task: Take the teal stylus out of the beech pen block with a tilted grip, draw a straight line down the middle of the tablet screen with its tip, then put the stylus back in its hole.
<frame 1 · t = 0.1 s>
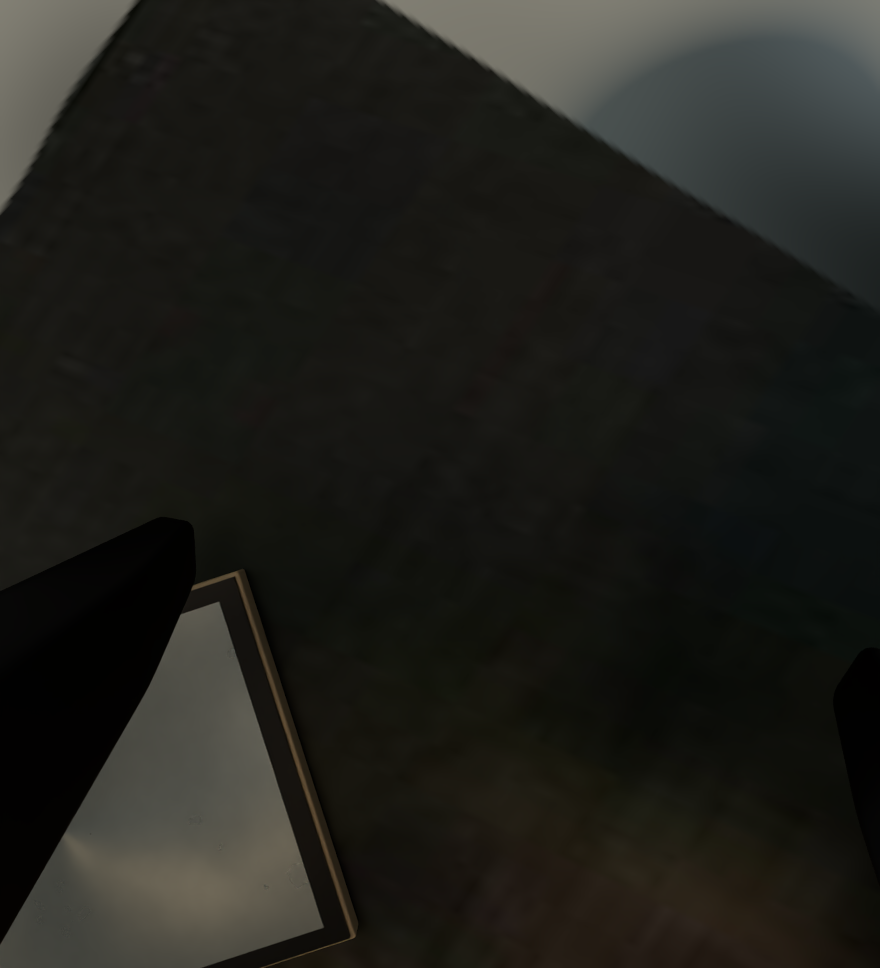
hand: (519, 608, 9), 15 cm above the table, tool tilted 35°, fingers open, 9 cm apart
tablet: (78, 818, 24), on the table
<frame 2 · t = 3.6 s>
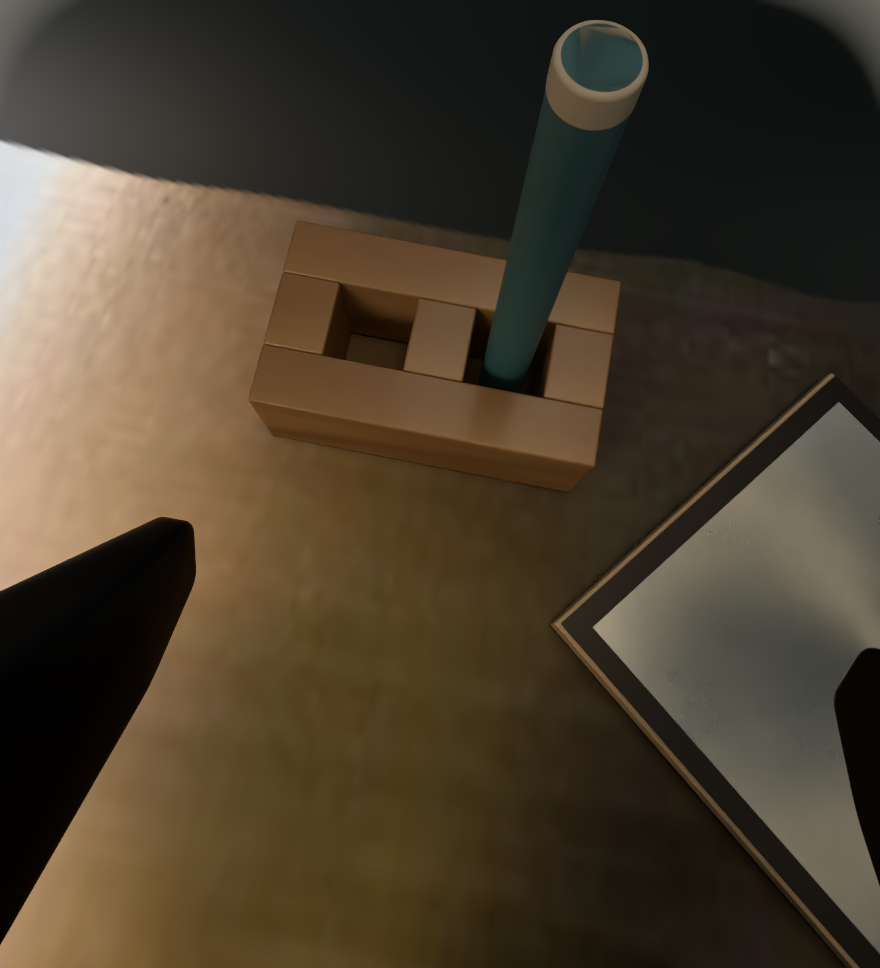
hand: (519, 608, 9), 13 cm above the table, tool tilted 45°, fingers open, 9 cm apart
stylus: (496, 393, 24), resting in pen block
pen block: (437, 382, 24), on the table
tablet: (872, 690, 22), on the table
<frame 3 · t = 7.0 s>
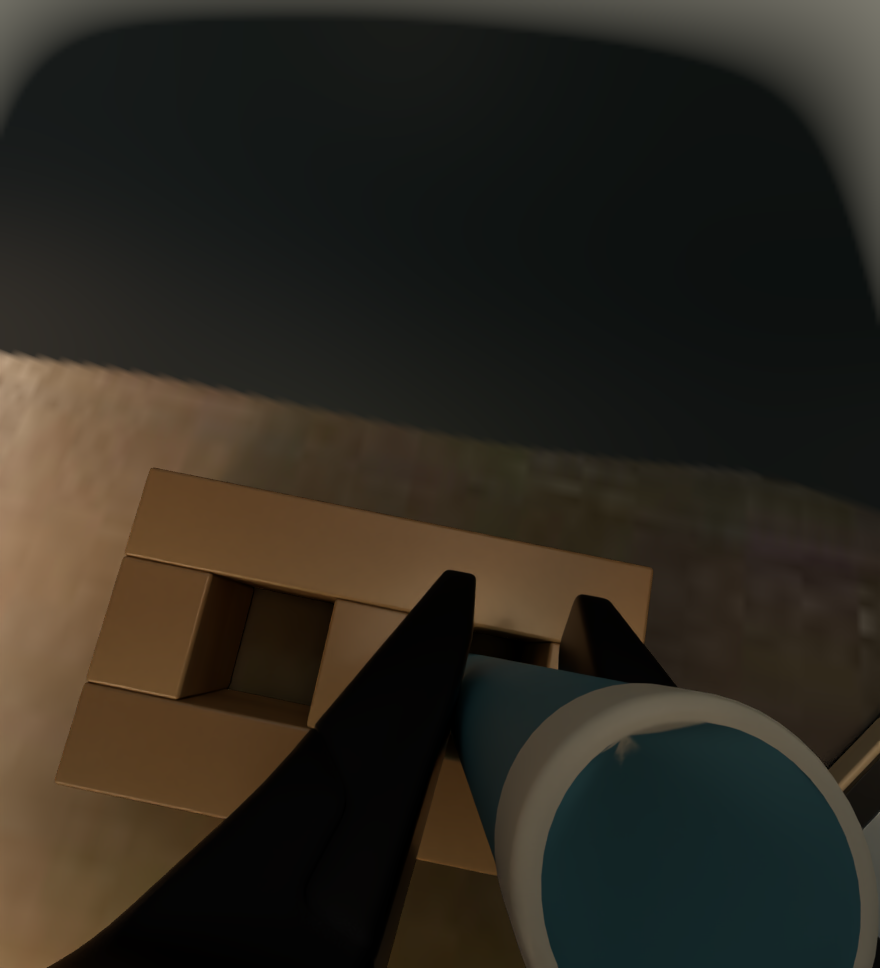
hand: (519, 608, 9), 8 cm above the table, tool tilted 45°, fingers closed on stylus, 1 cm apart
stylus: (464, 682, 16), resting in pen block, touching gripper
pen block: (378, 665, 16), on the table
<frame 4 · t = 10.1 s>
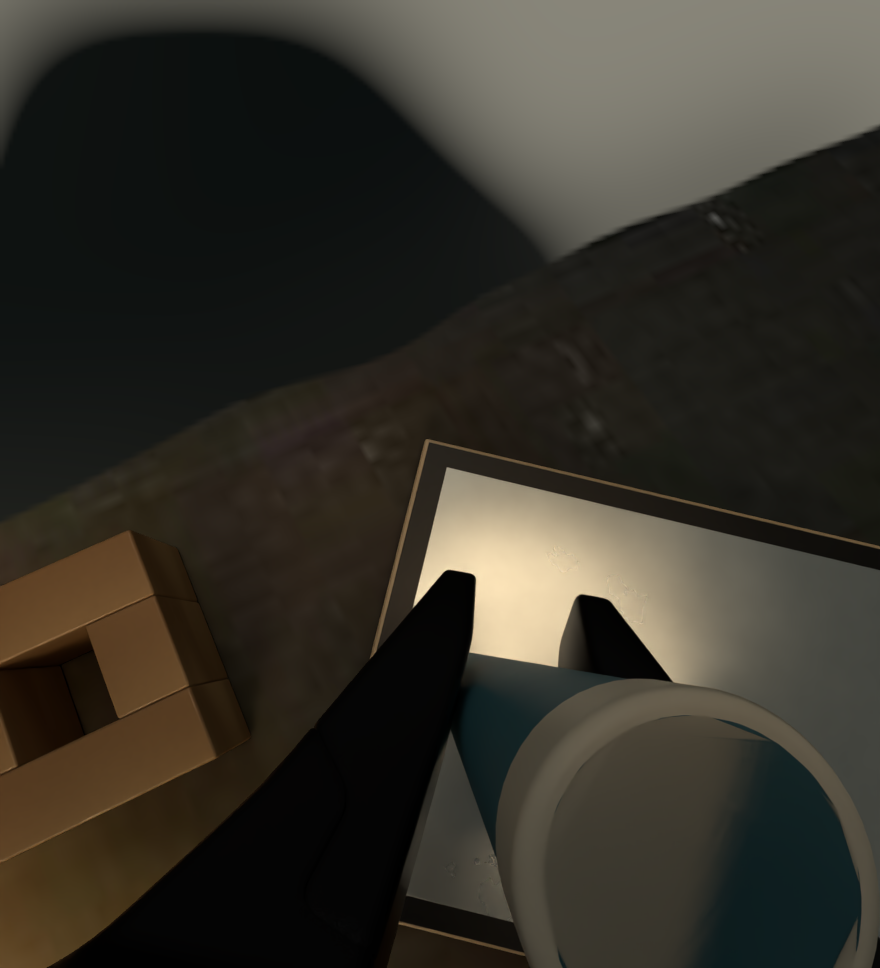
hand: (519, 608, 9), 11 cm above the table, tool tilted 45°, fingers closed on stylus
stylus: (464, 682, 16), point 4 cm above the table, touching gripper
pen block: (43, 718, 19), on the table
tablet: (648, 719, 20), on the table
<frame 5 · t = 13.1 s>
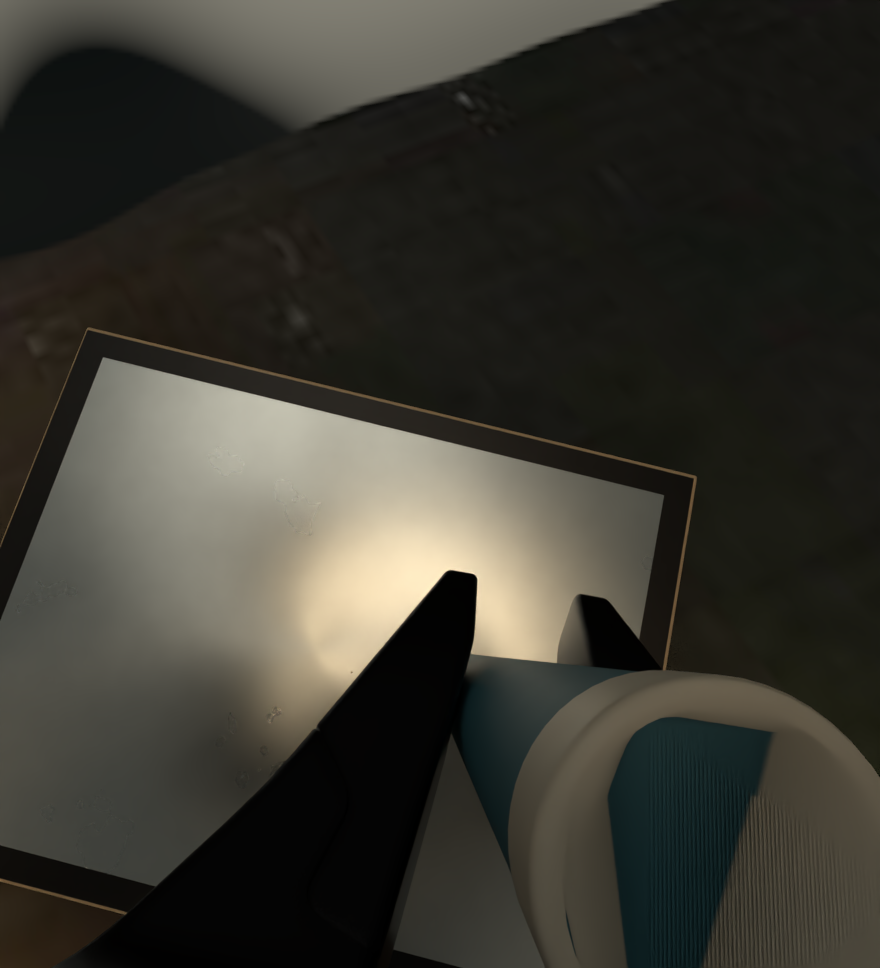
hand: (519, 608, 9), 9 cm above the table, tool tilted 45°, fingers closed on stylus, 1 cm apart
stylus: (463, 684, 16), point 1 cm above the table, touching gripper
tablet: (323, 648, 17), on the table
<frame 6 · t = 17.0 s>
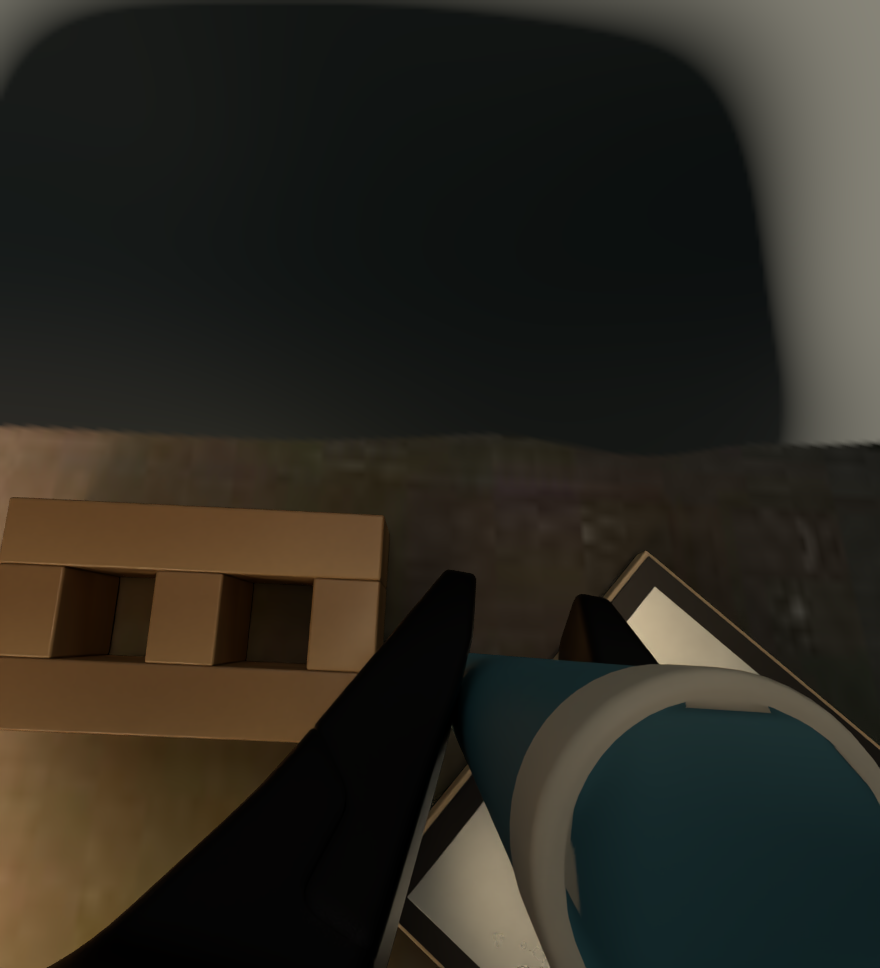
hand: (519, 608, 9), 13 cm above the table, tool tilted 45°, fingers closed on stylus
stylus: (465, 683, 16), point 5 cm above the table, touching gripper
pen block: (221, 620, 21), on the table
tablet: (724, 903, 20), on the table
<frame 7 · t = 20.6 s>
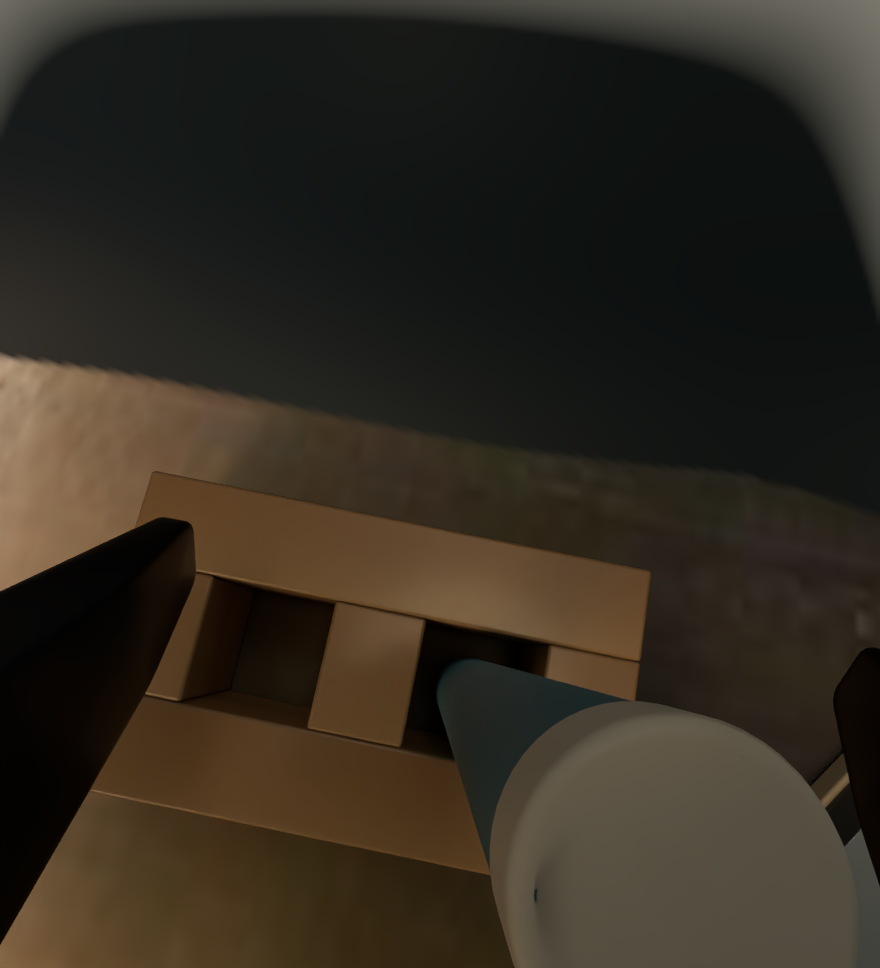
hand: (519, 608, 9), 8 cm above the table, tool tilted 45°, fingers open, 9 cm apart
stylus: (463, 686, 16), resting in pen block
pen block: (378, 666, 16), on the table
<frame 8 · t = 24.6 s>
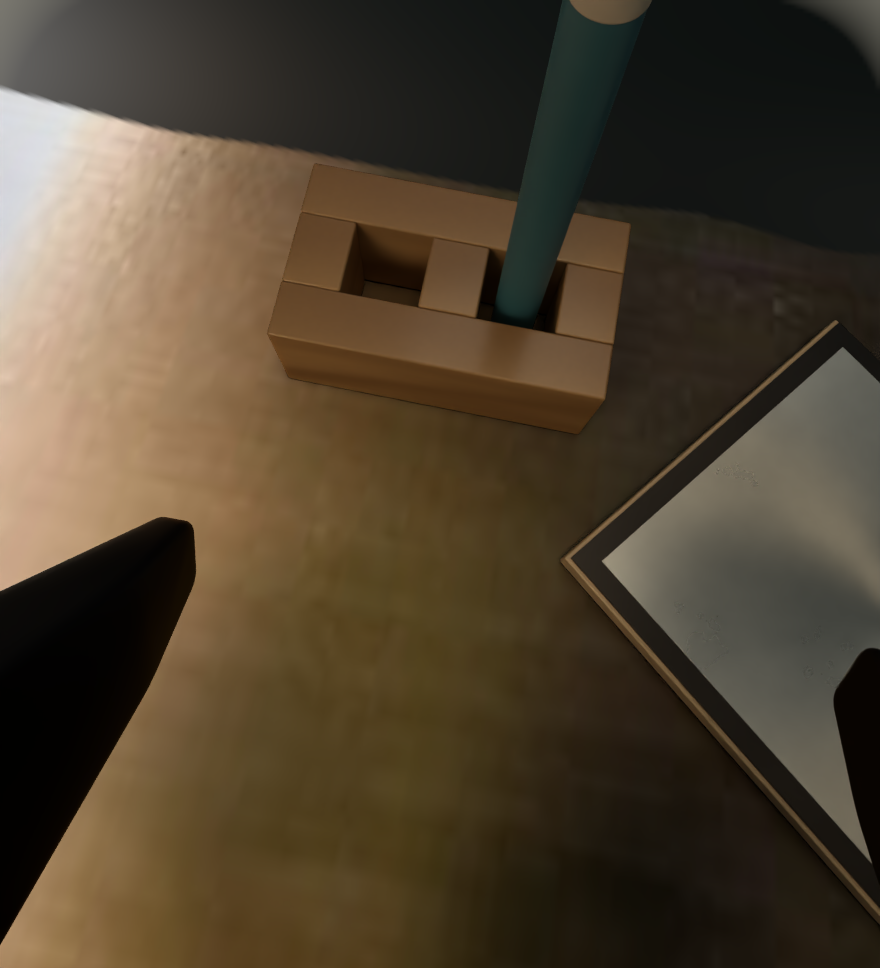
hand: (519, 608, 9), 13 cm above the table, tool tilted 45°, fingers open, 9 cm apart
stylus: (506, 340, 24), resting in pen block
pen block: (449, 328, 24), on the table
tablet: (875, 626, 22), on the table
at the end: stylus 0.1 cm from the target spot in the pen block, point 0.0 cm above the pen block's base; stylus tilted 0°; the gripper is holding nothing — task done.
